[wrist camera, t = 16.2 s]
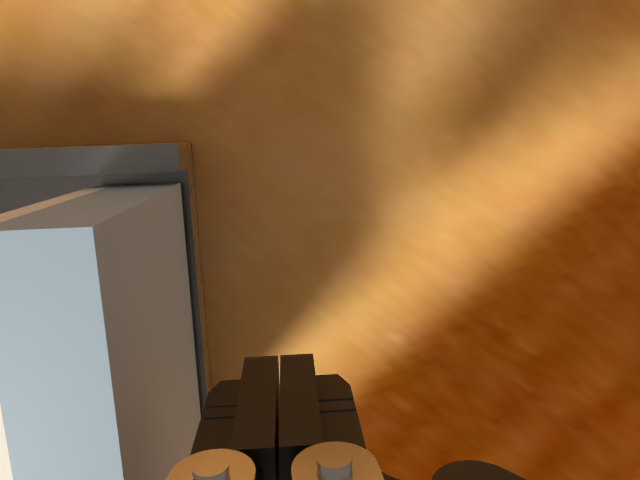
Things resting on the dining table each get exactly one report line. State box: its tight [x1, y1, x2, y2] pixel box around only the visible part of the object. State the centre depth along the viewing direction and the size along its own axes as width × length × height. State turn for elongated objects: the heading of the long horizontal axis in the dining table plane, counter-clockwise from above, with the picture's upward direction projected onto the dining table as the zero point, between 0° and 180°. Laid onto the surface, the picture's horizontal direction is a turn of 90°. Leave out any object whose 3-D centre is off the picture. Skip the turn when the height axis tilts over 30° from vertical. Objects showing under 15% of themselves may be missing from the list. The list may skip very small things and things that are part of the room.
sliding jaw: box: [0, 183, 201, 480], centre depth 14 cm, size 3×9×8 cm, turn 2°
